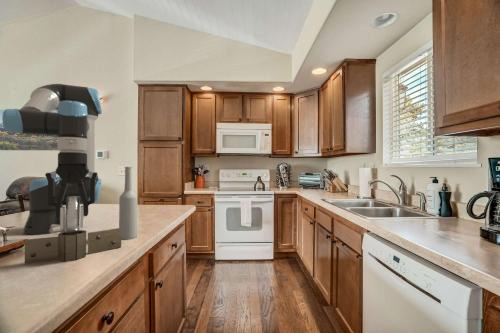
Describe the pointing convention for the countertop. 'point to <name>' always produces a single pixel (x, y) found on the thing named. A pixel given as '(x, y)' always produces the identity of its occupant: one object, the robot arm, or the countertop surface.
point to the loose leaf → (104, 240)
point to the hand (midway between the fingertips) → (72, 227)
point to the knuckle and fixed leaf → (56, 248)
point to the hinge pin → (72, 215)
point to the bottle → (128, 208)
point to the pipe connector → (56, 228)
